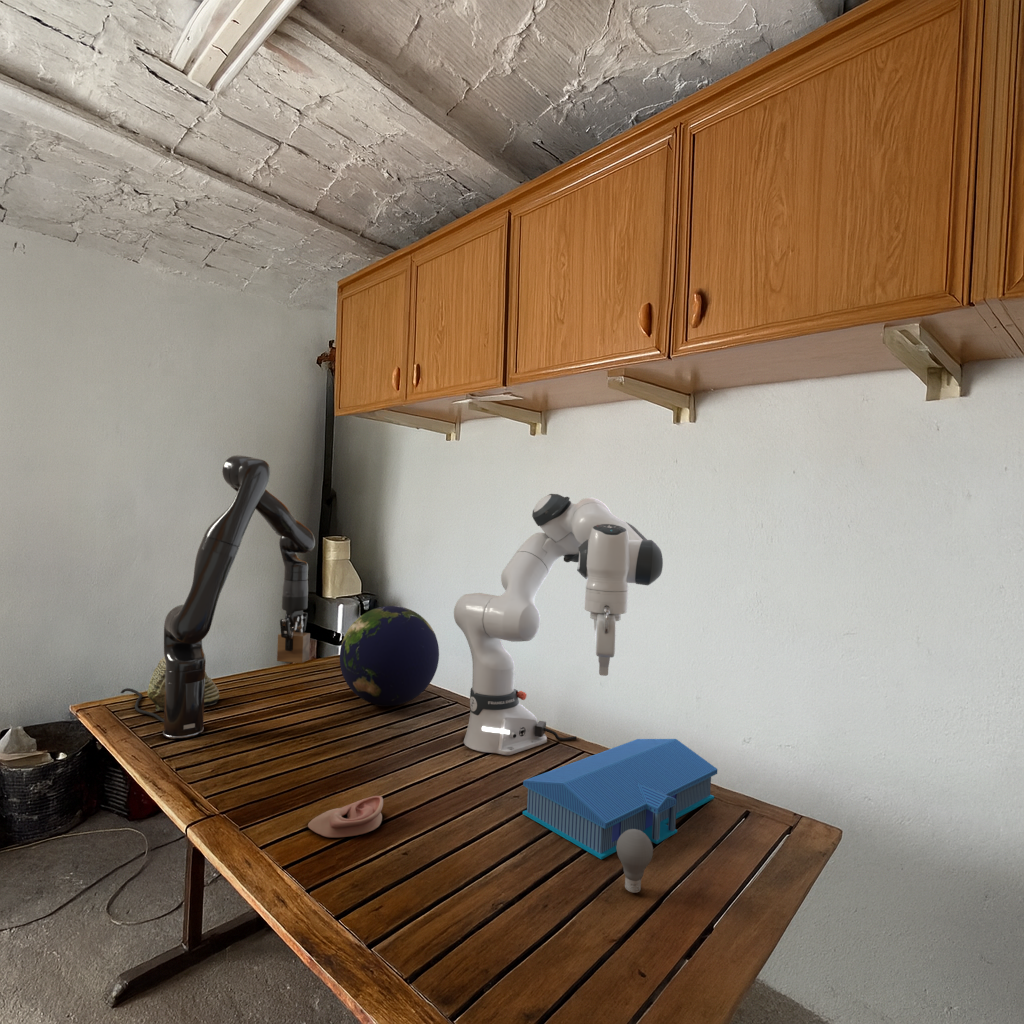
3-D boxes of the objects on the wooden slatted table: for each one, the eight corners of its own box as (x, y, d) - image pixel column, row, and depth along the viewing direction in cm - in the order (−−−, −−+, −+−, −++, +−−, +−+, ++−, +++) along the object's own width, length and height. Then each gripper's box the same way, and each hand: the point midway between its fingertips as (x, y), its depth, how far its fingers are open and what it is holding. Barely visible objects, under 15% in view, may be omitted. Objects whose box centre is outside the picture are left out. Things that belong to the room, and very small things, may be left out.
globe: (316, 709, 186) (320, 608, 186) (375, 684, 214) (378, 595, 214) (403, 727, 175) (408, 619, 175) (453, 698, 203) (457, 604, 202)
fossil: (144, 707, 182) (145, 655, 182) (212, 696, 194) (213, 647, 194) (151, 716, 175) (153, 662, 175) (221, 703, 188) (223, 653, 188)
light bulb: (610, 879, 108) (613, 822, 108) (644, 879, 109) (647, 822, 109) (619, 902, 102) (622, 840, 102) (655, 901, 103) (658, 840, 103)
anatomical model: (300, 812, 119) (329, 785, 130) (299, 833, 119) (328, 804, 130) (365, 822, 116) (390, 794, 127) (365, 843, 116) (389, 814, 127)
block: (302, 663, 194) (303, 636, 194) (276, 661, 195) (277, 634, 195) (309, 659, 199) (310, 633, 199) (284, 657, 200) (285, 631, 200)
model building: (615, 867, 112) (618, 811, 112) (520, 812, 130) (523, 764, 130) (727, 803, 138) (730, 758, 138) (636, 765, 157) (638, 725, 156)
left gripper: (295, 598, 189) (293, 655, 189) (316, 591, 203) (314, 644, 204) (272, 596, 190) (270, 653, 190) (294, 590, 204) (292, 642, 205)
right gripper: (624, 612, 121) (620, 683, 121) (619, 596, 141) (616, 658, 142) (590, 609, 122) (587, 681, 122) (590, 594, 142) (587, 656, 142)
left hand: (293, 648), depth 197 cm, fingers closed on block, 5 cm apart
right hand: (602, 668), depth 132 cm, fingers open, 8 cm apart
